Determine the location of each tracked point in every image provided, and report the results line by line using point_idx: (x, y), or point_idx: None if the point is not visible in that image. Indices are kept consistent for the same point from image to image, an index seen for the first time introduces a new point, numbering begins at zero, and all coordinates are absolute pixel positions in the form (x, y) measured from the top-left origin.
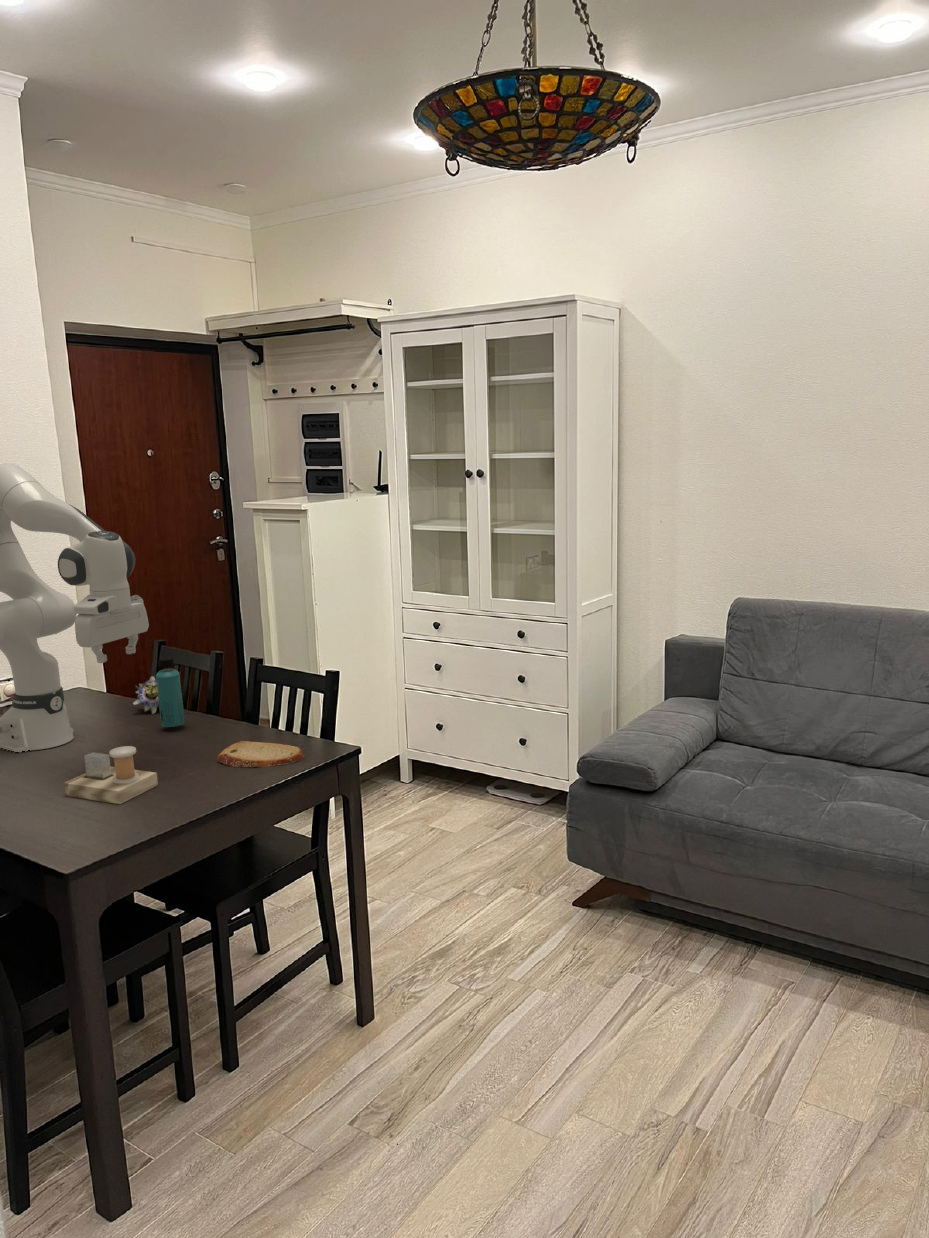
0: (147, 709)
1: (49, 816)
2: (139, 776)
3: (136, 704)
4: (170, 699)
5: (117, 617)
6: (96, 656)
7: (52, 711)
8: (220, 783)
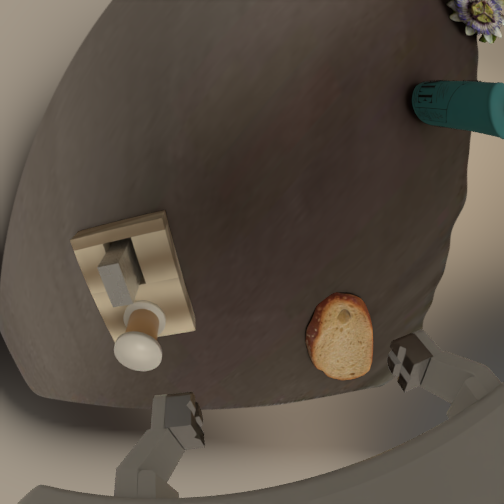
0: (451, 7)
1: (39, 285)
2: (167, 322)
3: None
4: (455, 121)
5: None
6: (151, 424)
7: None
8: (247, 370)
